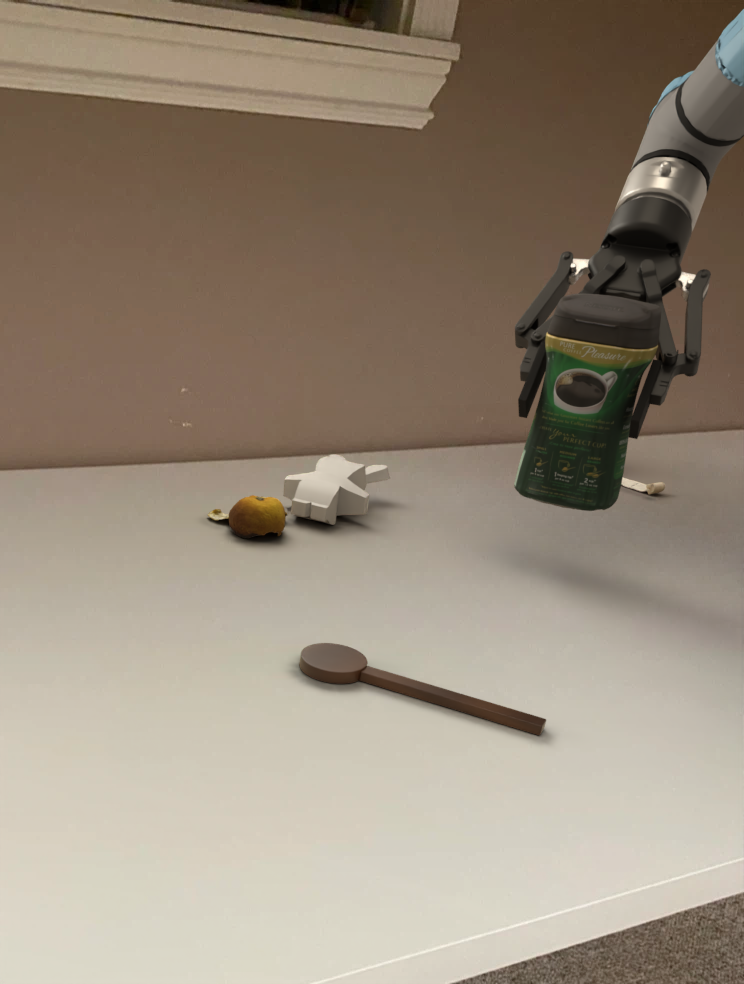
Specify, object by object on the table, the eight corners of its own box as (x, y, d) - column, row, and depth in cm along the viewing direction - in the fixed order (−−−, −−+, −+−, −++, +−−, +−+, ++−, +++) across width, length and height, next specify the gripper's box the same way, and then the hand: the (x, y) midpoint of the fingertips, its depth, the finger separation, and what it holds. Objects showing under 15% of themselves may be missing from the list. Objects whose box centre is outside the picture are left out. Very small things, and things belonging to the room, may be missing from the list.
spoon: (550, 718, 82) (553, 706, 81) (533, 747, 77) (536, 734, 77) (315, 648, 89) (316, 636, 88) (288, 671, 85) (289, 659, 84)
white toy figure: (268, 479, 114) (323, 434, 125) (265, 524, 117) (319, 477, 128) (353, 499, 111) (402, 451, 122) (348, 545, 114) (396, 494, 125)
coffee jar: (622, 501, 107) (678, 301, 98) (602, 520, 101) (660, 308, 92) (526, 479, 112) (571, 284, 103) (501, 496, 105) (547, 291, 96)
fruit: (279, 514, 118) (283, 481, 116) (304, 542, 111) (308, 507, 109) (204, 514, 115) (207, 480, 114) (224, 543, 109) (228, 507, 107)
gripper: (537, 180, 106) (457, 372, 101) (784, 206, 97) (710, 417, 92) (537, 237, 112) (462, 420, 108) (769, 266, 104) (699, 466, 99)
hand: (577, 419), depth 100 cm, fingers closed on coffee jar, 9 cm apart
